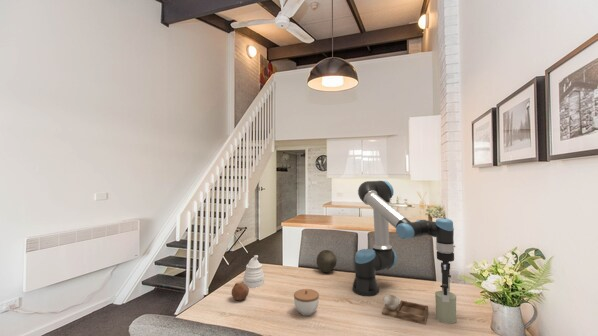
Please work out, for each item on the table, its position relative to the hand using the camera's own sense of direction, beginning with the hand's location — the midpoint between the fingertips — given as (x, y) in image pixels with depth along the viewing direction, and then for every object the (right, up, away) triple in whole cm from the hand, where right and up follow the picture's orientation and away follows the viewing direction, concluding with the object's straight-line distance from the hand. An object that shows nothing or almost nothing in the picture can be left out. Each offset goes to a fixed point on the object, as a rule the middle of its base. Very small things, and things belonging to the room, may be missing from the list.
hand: (446, 296), depth 138 cm
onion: (-103, -12, +23) cm, 107 cm away
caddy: (-18, -11, +6) cm, 22 cm away
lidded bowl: (-67, -12, +8) cm, 68 cm away
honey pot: (-99, -12, +44) cm, 109 cm away
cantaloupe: (-51, -12, +64) cm, 83 cm away
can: (0, -11, 0) cm, 11 cm away
